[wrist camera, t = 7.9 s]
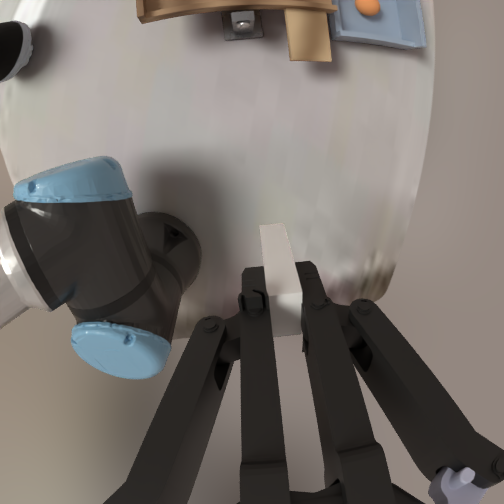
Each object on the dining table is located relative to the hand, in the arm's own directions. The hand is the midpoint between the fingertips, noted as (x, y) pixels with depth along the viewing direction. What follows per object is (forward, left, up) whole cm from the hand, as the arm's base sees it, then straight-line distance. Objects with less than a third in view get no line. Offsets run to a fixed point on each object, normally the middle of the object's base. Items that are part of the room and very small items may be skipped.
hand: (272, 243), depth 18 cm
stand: (0, +23, -24) cm, 34 cm away
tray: (+18, +23, -24) cm, 38 cm away
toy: (-36, +28, -25) cm, 52 cm away
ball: (+17, +23, -22) cm, 36 cm away
